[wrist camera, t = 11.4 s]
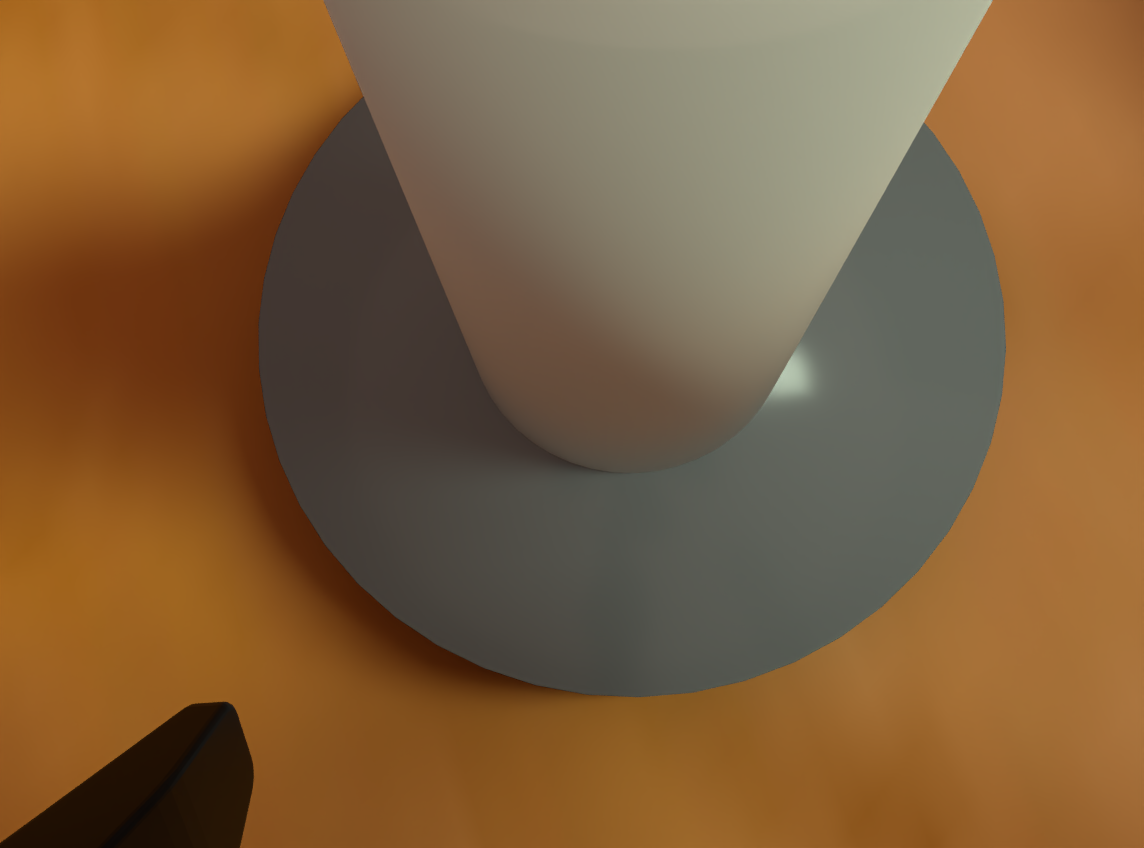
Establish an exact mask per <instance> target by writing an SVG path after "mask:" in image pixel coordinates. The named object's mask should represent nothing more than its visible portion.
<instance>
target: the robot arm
mask: <svg viewBox="0 0 1144 848" xmlns="http://www.w3.org/2000/svg"><path fill="white" fill-rule="evenodd" d="M253 779H254V770H253V762H252V758H251V754H250V751H249V748H248V745H247V742H246V739H245V736H244V733H243V730H242V727H241V724H240V721H239V718H238V714H237V712H236V710H235V708H234V707H233V705H231V704H230V703H228V702H213V703H198V704H191V705H189V706H187V707H186V708H184V709H183V710H181V711H180V712H178V713H177V714H176V715H174V716H173V717H172V718H170V719H169V720H167V721H166V722H165V723H163V724H162V725H161V726H159V727H158V728H157V729H155V730H154V731H152V732H151V733H150V734H148V735H147V736H146V737H144V738H143V739H142V740H140V741H139V742H137V743H136V744H135V745H133V746H132V747H131V748H129V749H128V750H127V751H125V752H124V753H122V754H121V755H120V756H118V757H117V758H116V759H114V760H113V761H111V762H110V763H109V764H107V765H106V766H105V767H103V768H102V769H101V770H99V771H98V772H96V773H95V774H94V775H92V776H91V777H90V778H88V779H87V780H86V781H84V782H83V783H81V784H80V785H79V786H77V787H76V788H75V789H73V790H72V791H71V792H69V793H68V794H66V795H65V796H64V797H62V798H61V799H60V800H58V801H57V802H55V803H54V804H53V805H51V806H50V807H49V808H47V809H46V810H45V811H43V812H42V813H40V814H39V815H38V816H36V817H35V818H34V819H32V820H31V821H30V822H28V823H27V824H25V825H24V826H23V827H21V828H20V829H19V830H17V831H16V832H15V833H13V834H12V835H10V836H9V837H8V838H6V839H5V840H4V841H2V842H1V843H0V848H240V845H241V840H242V835H243V831H244V826H245V821H246V817H247V812H248V808H249V803H250V798H251V794H252V788H253Z"/></svg>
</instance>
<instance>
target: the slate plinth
mask: <svg viewBox="0 0 1144 848" xmlns="http://www.w3.org/2000/svg"><path fill="white" fill-rule="evenodd" d="M1005 353H1006V341H1005V323H1004V304H1003V297H1002V292H1001V287H1000V282H999V277H998V272H997V266H996V261H995V256H994V253H993V250H992V247H991V244H990V241H989V239H988V236H987V233H986V230H985V227H984V224H983V221H982V218H981V215H980V212H979V210H978V208H977V206H976V204H975V202H974V200H973V198H972V196H971V194H970V192H969V190H968V188H967V186H966V184H965V182H964V180H963V178H962V176H961V174H960V172H959V170H958V169H957V167H956V166H955V164H954V163H953V162H952V160H951V159H950V157H949V156H948V154H947V153H946V151H945V150H944V148H943V147H942V145H941V144H940V142H939V141H938V139H937V138H936V136H935V135H934V133H933V132H932V131H931V130H930V129H929V128H928V127H927V125H926V124H925V123H923V124H922V126H921V128H920V130H919V131H918V133H917V135H916V137H915V139H914V140H913V142H912V144H911V146H910V147H909V149H908V151H907V153H906V154H905V156H904V158H903V160H902V162H901V163H900V165H899V167H898V169H897V170H896V172H895V174H894V176H893V177H892V179H891V181H890V183H889V184H888V186H887V188H886V190H885V192H884V193H883V195H882V197H881V199H880V200H879V202H878V204H877V206H876V207H875V209H874V211H873V213H872V215H871V216H870V218H869V220H868V222H867V223H866V225H865V227H864V229H863V230H862V232H861V234H860V236H859V238H858V239H857V241H856V243H855V245H854V246H853V248H852V250H851V252H850V253H849V255H848V257H847V259H846V261H845V262H844V264H843V266H842V268H841V269H840V271H839V273H838V275H837V276H836V278H835V280H834V282H833V284H832V285H831V287H830V289H829V291H828V292H827V294H826V296H825V298H824V299H823V301H822V303H821V305H820V306H819V308H818V310H817V312H816V314H815V315H814V317H813V319H812V321H811V322H810V324H809V326H808V328H807V329H806V331H805V333H804V335H803V337H802V338H801V340H800V342H799V344H798V345H797V347H796V349H795V351H794V352H793V354H792V356H791V358H790V360H789V361H788V363H787V365H786V367H785V368H784V370H783V372H782V374H781V375H780V377H779V379H778V381H777V383H776V384H775V386H774V388H773V390H772V391H771V393H770V394H769V396H768V398H767V399H766V401H765V403H764V404H763V406H762V407H761V408H760V410H759V411H758V412H757V413H756V415H755V416H754V417H753V418H752V419H751V421H750V422H749V423H748V424H747V425H746V426H745V427H744V428H743V429H742V430H740V431H739V432H738V433H737V434H736V435H735V436H734V437H733V438H731V439H730V440H728V441H727V442H726V443H724V444H723V445H721V446H720V447H719V448H717V449H715V450H714V451H712V452H710V453H708V454H706V455H704V456H702V457H700V458H698V459H696V460H693V461H690V462H688V463H685V464H682V465H680V466H677V467H672V468H668V469H663V470H659V471H652V472H642V473H614V472H607V471H601V470H595V469H590V468H587V467H583V466H580V465H577V464H573V463H570V462H568V461H566V460H564V459H561V458H559V457H557V456H555V455H552V454H551V453H549V452H547V451H546V450H544V449H542V448H541V447H539V446H538V445H536V444H534V443H533V442H532V441H530V440H529V439H528V438H527V437H525V436H524V435H523V434H522V433H521V432H519V431H518V430H517V429H516V428H515V427H514V426H513V425H512V424H511V423H510V422H509V421H508V419H507V418H506V417H505V416H504V415H503V414H502V413H501V411H500V410H499V408H498V407H497V406H496V404H495V403H494V401H493V400H492V399H491V397H490V395H489V393H488V391H487V389H486V387H485V385H484V384H483V382H482V380H481V377H480V375H479V372H478V370H477V368H476V365H475V363H474V360H473V358H472V356H471V353H470V351H469V348H468V346H467V344H466V341H465V339H464V336H463V334H462V332H461V329H460V327H459V324H458V322H457V320H456V317H455V315H454V312H453V310H452V308H451V305H450V303H449V300H448V298H447V296H446V293H445V291H444V288H443V286H442V284H441V281H440V279H439V276H438V274H437V272H436V269H435V267H434V264H433V262H432V260H431V257H430V255H429V252H428V250H427V248H426V245H425V243H424V240H423V238H422V236H421V233H420V231H419V228H418V226H417V224H416V221H415V219H414V216H413V214H412V212H411V209H410V207H409V204H408V202H407V200H406V197H405V195H404V192H403V190H402V188H401V185H400V183H399V180H398V178H397V176H396V173H395V171H394V168H393V166H392V164H391V161H390V159H389V156H388V154H387V152H386V149H385V147H384V144H383V142H382V140H381V137H380V135H379V132H378V130H377V128H376V125H375V123H374V120H373V118H372V116H371V113H370V111H369V108H368V106H367V104H366V101H365V99H364V97H363V98H362V99H361V100H360V101H359V102H358V103H357V104H356V105H355V106H354V107H353V108H352V109H351V110H350V111H349V112H348V113H347V114H346V115H345V116H344V117H343V118H342V119H341V121H340V122H339V123H338V125H337V126H336V127H335V129H334V130H333V131H332V133H331V134H330V135H329V137H328V138H327V139H326V141H325V142H324V143H323V145H322V146H321V147H320V148H319V150H318V151H317V152H316V154H315V155H314V157H313V159H312V161H311V162H310V164H309V166H308V168H307V169H306V171H305V173H304V175H303V176H302V178H301V180H300V182H299V183H298V185H297V187H296V189H295V190H294V192H293V194H292V196H291V199H290V201H289V204H288V206H287V209H286V211H285V213H284V216H283V218H282V221H281V223H280V226H279V228H278V230H277V233H276V236H275V239H274V243H273V247H272V251H271V255H270V258H269V262H268V266H267V270H266V274H265V277H264V284H263V292H262V300H261V308H260V316H259V372H260V378H261V385H262V392H263V398H264V405H265V411H266V417H267V420H268V424H269V427H270V430H271V434H272V437H273V440H274V444H275V447H276V451H277V454H278V457H279V461H280V463H281V465H282V467H283V469H284V472H285V474H286V476H287V478H288V480H289V483H290V485H291V487H292V489H293V491H294V494H295V496H296V498H297V500H298V502H299V505H300V506H301V508H302V509H303V511H304V512H305V514H306V516H307V517H308V519H309V520H310V522H311V523H312V525H313V527H314V528H315V530H316V531H317V533H318V534H319V536H320V538H321V539H322V541H323V542H324V544H325V545H326V547H327V548H328V549H329V550H330V551H331V553H332V554H333V555H334V556H335V557H336V558H337V560H338V561H339V562H340V563H341V564H342V565H343V567H344V568H345V569H346V570H347V571H348V573H349V574H350V575H351V576H352V577H353V578H354V580H355V581H356V582H357V583H358V584H359V585H360V586H361V587H362V588H363V589H365V590H366V591H367V592H368V593H369V594H370V595H371V596H372V597H374V598H375V599H376V600H377V601H378V602H379V603H380V604H381V605H383V606H384V607H385V608H386V609H387V610H388V611H389V612H390V613H392V614H393V615H394V616H395V617H396V618H398V619H399V620H401V621H402V622H404V623H405V624H407V625H408V626H410V627H411V628H413V629H414V630H416V631H417V632H419V633H420V634H422V635H423V636H425V637H426V638H427V639H429V640H430V641H432V642H433V643H435V644H436V645H438V646H440V647H442V648H444V649H446V650H448V651H450V652H452V653H454V654H456V655H458V656H460V657H462V658H465V659H467V660H469V661H471V662H473V663H475V664H477V665H479V666H481V667H483V668H485V669H488V670H491V671H494V672H497V673H500V674H503V675H506V676H509V677H512V678H515V679H518V680H521V681H524V682H527V683H531V684H534V685H538V686H544V687H549V688H554V689H560V690H565V691H570V692H576V693H581V694H587V695H607V696H627V697H647V696H658V695H670V694H681V693H693V692H697V691H702V690H706V689H711V688H715V687H719V686H724V685H728V684H733V683H737V682H742V681H745V680H748V679H751V678H753V677H756V676H759V675H762V674H764V673H767V672H770V671H772V670H775V669H778V668H780V667H783V666H786V665H788V664H791V663H794V662H796V661H797V660H799V659H801V658H803V657H805V656H807V655H809V654H810V653H812V652H814V651H816V650H818V649H820V648H821V647H823V646H825V645H827V644H829V643H831V642H833V641H834V640H836V639H838V638H840V637H841V636H843V635H844V634H845V633H847V632H848V631H850V630H851V629H852V628H854V627H855V626H856V625H858V624H859V623H860V622H862V621H863V620H864V619H866V618H867V617H869V616H870V615H871V614H873V613H874V612H875V611H877V610H878V609H879V608H881V607H882V606H883V605H884V604H885V603H886V602H887V601H888V600H889V599H890V598H891V597H892V596H893V595H894V594H895V593H896V592H897V591H898V590H899V589H900V588H901V587H902V586H904V585H905V584H906V583H907V582H908V581H909V580H910V579H911V578H912V577H913V576H914V575H915V574H916V573H917V572H918V571H919V569H920V568H921V567H922V566H923V564H924V563H925V562H926V560H927V559H928V558H929V556H930V555H931V554H932V553H933V551H934V550H935V549H936V547H937V546H938V545H939V543H940V542H941V541H942V540H943V538H944V537H945V536H946V534H947V533H948V532H949V530H950V528H951V527H952V525H953V523H954V521H955V519H956V518H957V516H958V514H959V512H960V511H961V509H962V507H963V505H964V504H965V502H966V500H967V498H968V496H969V495H970V493H971V491H972V489H973V487H974V485H975V482H976V480H977V477H978V474H979V472H980V469H981V467H982V464H983V462H984V459H985V456H986V454H987V451H988V449H989V446H990V444H991V440H992V436H993V431H994V427H995V423H996V418H997V414H998V410H999V406H1000V401H1001V397H1002V388H1003V376H1004V364H1005Z"/></svg>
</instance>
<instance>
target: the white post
mask: <svg viewBox="0 0 1144 848" xmlns="http://www.w3.org/2000/svg"><path fill="white" fill-rule="evenodd" d="M992 1H993V0H324V3H325V5H326V8H327V10H328V12H329V15H330V17H331V20H332V22H333V24H334V27H335V29H336V32H337V34H338V36H339V39H340V41H341V44H342V46H343V48H344V51H345V53H346V56H347V58H348V60H349V63H350V65H351V68H352V70H353V72H354V75H355V77H356V80H357V82H358V84H359V87H360V89H361V92H362V94H363V96H364V99H365V101H366V104H367V106H368V108H369V111H370V113H371V116H372V118H373V120H374V123H375V125H376V128H377V130H378V132H379V135H380V137H381V140H382V142H383V144H384V147H385V149H386V152H387V154H388V156H389V159H390V161H391V164H392V166H393V168H394V171H395V173H396V176H397V178H398V180H399V183H400V185H401V188H402V190H403V192H404V195H405V197H406V200H407V202H408V204H409V207H410V209H411V212H412V214H413V216H414V219H415V221H416V224H417V226H418V228H419V231H420V233H421V236H422V238H423V240H424V243H425V245H426V248H427V250H428V252H429V255H430V257H431V260H432V262H433V264H434V267H435V269H436V272H437V274H438V276H439V279H440V281H441V284H442V286H443V288H444V291H445V293H446V296H447V298H448V300H449V303H450V305H451V308H452V310H453V312H454V315H455V317H456V320H457V322H458V324H459V327H460V329H461V332H462V334H463V336H464V339H465V341H466V344H467V346H468V348H469V351H470V353H471V356H472V358H473V360H474V363H475V365H476V368H477V370H478V372H479V375H480V377H481V380H482V382H483V384H484V385H485V387H486V389H487V391H488V393H489V395H490V397H491V399H492V400H493V401H494V403H495V404H496V406H497V407H498V408H499V410H500V411H501V413H502V414H503V415H504V416H505V417H506V418H507V419H508V421H509V422H510V423H511V424H512V425H513V426H514V427H515V428H516V429H517V430H518V431H519V432H521V433H522V434H523V435H524V436H525V437H527V438H528V439H529V440H530V441H532V442H533V443H534V444H536V445H538V446H539V447H541V448H542V449H544V450H546V451H547V452H549V453H551V454H552V455H555V456H557V457H559V458H561V459H564V460H566V461H568V462H570V463H573V464H577V465H580V466H583V467H587V468H590V469H595V470H601V471H607V472H614V473H642V472H652V471H659V470H663V469H668V468H672V467H677V466H680V465H682V464H685V463H688V462H690V461H693V460H696V459H698V458H700V457H702V456H704V455H706V454H708V453H710V452H712V451H714V450H715V449H717V448H719V447H720V446H721V445H723V444H724V443H726V442H727V441H728V440H730V439H731V438H733V437H734V436H735V435H736V434H737V433H738V432H739V431H740V430H742V429H743V428H744V427H745V426H746V425H747V424H748V423H749V422H750V421H751V419H752V418H753V417H754V416H755V415H756V413H757V412H758V411H759V410H760V408H761V407H762V406H763V404H764V403H765V401H766V399H767V398H768V396H769V394H770V393H771V391H772V390H773V388H774V386H775V384H776V383H777V381H778V379H779V377H780V375H781V374H782V372H783V370H784V368H785V367H786V365H787V363H788V361H789V360H790V358H791V356H792V354H793V352H794V351H795V349H796V347H797V345H798V344H799V342H800V340H801V338H802V337H803V335H804V333H805V331H806V329H807V328H808V326H809V324H810V322H811V321H812V319H813V317H814V315H815V314H816V312H817V310H818V308H819V306H820V305H821V303H822V301H823V299H824V298H825V296H826V294H827V292H828V291H829V289H830V287H831V285H832V284H833V282H834V280H835V278H836V276H837V275H838V273H839V271H840V269H841V268H842V266H843V264H844V262H845V261H846V259H847V257H848V255H849V253H850V252H851V250H852V248H853V246H854V245H855V243H856V241H857V239H858V238H859V236H860V234H861V232H862V230H863V229H864V227H865V225H866V223H867V222H868V220H869V218H870V216H871V215H872V213H873V211H874V209H875V207H876V206H877V204H878V202H879V200H880V199H881V197H882V195H883V193H884V192H885V190H886V188H887V186H888V184H889V183H890V181H891V179H892V177H893V176H894V174H895V172H896V170H897V169H898V167H899V165H900V163H901V162H902V160H903V158H904V156H905V154H906V153H907V151H908V149H909V147H910V146H911V144H912V142H913V140H914V139H915V137H916V135H917V133H918V131H919V130H920V128H921V126H922V124H923V123H924V121H925V119H926V117H927V116H928V114H929V112H930V110H931V108H932V107H933V105H934V103H935V101H936V100H937V98H938V96H939V94H940V93H941V91H942V89H943V87H944V85H945V84H946V82H947V80H948V78H949V77H950V75H951V73H952V71H953V70H954V68H955V66H956V64H957V63H958V61H959V59H960V57H961V55H962V54H963V52H964V50H965V48H966V47H967V45H968V43H969V41H970V40H971V38H972V36H973V34H974V32H975V31H976V29H977V27H978V25H979V24H980V22H981V20H982V18H983V17H984V15H985V13H986V11H987V9H988V8H989V6H990V4H991V2H992Z"/></svg>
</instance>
